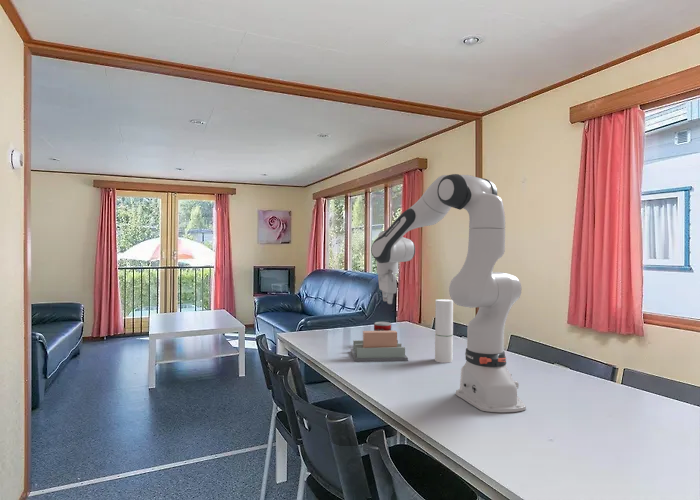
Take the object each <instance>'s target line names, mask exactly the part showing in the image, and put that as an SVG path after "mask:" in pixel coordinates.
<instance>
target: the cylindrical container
mask: <svg viewBox="0 0 700 500" xmlns="http://www.w3.org/2000/svg"><path fill="white" fill-rule="evenodd" d="M434 312H435V317H434V318H435V322H434V330H435V331H434V333H435V334H434V361H435V362H437V363H443V364H449V363H452V362H453V356H454V355H453V352H454V349H453V346H454V345H453V340H454V302H453V300H452V299H448V298H447V299H444V298H443V299H441V298H440V299H435V311H434Z"/></svg>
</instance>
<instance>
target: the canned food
mask: <svg viewBox="0 0 700 500" xmlns="http://www.w3.org/2000/svg"><path fill="white" fill-rule="evenodd" d="M373 331H392V323H391V322H389V321H375V322H374V323H373Z"/></svg>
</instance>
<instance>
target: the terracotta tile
mask: <svg viewBox="0 0 700 500" xmlns="http://www.w3.org/2000/svg"><path fill="white" fill-rule="evenodd" d="M362 340H363V348H381V347H397V340H398V331H396V330H391V331H374V330H362Z"/></svg>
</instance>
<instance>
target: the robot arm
mask: <svg viewBox="0 0 700 500" xmlns="http://www.w3.org/2000/svg"><path fill="white" fill-rule="evenodd" d="M452 208H453V209H456V210H458V211H459V210H463V209H464V210H465V211H466V212H467V213H468V217H469V221H468V242H467V243H468V246H467V252H466V253H467V254H466V258H465V261H464V263H463V265H462V267H461V269H460V271H458V273H457V274H456V275H455V276H454V277H453V278H452V279H451V281H450V283H449V286H448V292H449V297H450V300H453V304H455V305H457V306H460V307H465V308H470V309H471V308H472V309H473V308H475V309H476V308H478V310H477V313H476V314H475V316H474V317H473V318H472V319H471V320H470V321H469V322H468V324H467V327H466V329H467V332H466V333H467V334H466V335H467V336H466V339H467V341H466V343H467V344H466V348H465V353H464V355H465V360H466V361H465V363H464V365H463V366H461V369H460V370H461V371H460V380H459V389H456V390H455V395H456V397H457V396H458V397H459V398H460V399H462V400H463V401H465V402H467V403H468V404H470V405H471V406H473V407H475V408H477V409H478V410H479V411H483V412H488V413H490V412H491V413H516V412H521V411H522V412H523V411H526V410H527V406H526V404H525V403H524V401H522V400H521V398H520V397H519V396H518V389H519V386H520V385H519V384H520V383H519V382H518V380H514V379H513V377H512V373H511V372H510V370H508V367H507V357H506V353H505V350H504V340H505V339H504V338H505V336H504V335H505V326H506V322H507V318H508V316H509V313H510V311H511V308H512V307H513V305H514V304H515V303H516V302H517V301H518V300H519V299H520V297H521V294H522V284H521V281H520V279H519V278H518V277H517V276H515V275H514V274H512V273H511V274H510V273H507V272H503V271H493V270H494V267H495V265H496V263H497V262H498V260H500V259H502V257H503V256H504V254H505V252H506V216H505V215H506V214H505V206H504V202H503V199H502V198H501V197H500V196H498V188H497V187H496V184H494V182H492V181H491V180H490V179H486V178H482V177H481V178H480V177H477V176H474V175H469V174H458V173H452V174H442V175H440V176H438V177H437V178H436V179H435V180H434V181H433V182H432V183H431V184H430V185H429V186H428V187H427V188H426V190H425V191H424V193H422V196H420V198H418V200H417V201H416V202H415V203H414V204H413V205H411V206H410V207H409V208H407V209H406V210H404V211H403V212H402V213H401V214H400V215H399V216H398V217H397V218H396V219H395V220H394V221H393V222H392V224H391V225H390V226H389V227H388V228H387V229H386V230H383V231H380V232H378V236H377V238H376V239H375V240H374V241H373V243H371V244H372V245H371V250H370V251H371V256H372V257H373V259H374V260H375V261H376V274H377V279H378V280H377V281H378V287H379V290H380V291H381V293H382V301H383V302H387V304H388V305H392V304H393V299H394V294H396V293H397V290H398V289H397V287H398V286H397V274H399V263H402V262H403V263H405V262H410V261H412V259H413V258H414V257H415V255H416V245H415V243H414V241H413V240H411V239H410V238H407V237H404V236H405V235H406V234H407V233H408V232H411V231H413V230H415V229H418V228H423V227H428V226H434V225H436V224H438V223H439V222H440V221H442V220H443V219H444V218H445V217H446V215H447V214H448V213H449V211H450V210H452Z"/></svg>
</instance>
